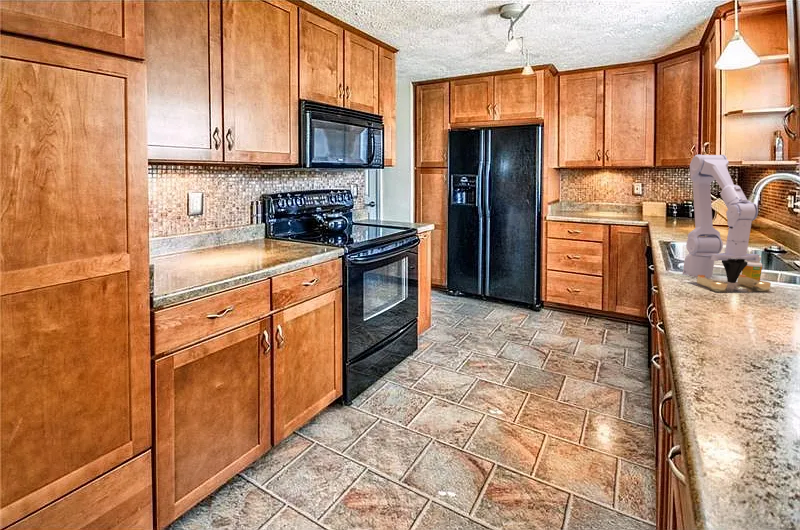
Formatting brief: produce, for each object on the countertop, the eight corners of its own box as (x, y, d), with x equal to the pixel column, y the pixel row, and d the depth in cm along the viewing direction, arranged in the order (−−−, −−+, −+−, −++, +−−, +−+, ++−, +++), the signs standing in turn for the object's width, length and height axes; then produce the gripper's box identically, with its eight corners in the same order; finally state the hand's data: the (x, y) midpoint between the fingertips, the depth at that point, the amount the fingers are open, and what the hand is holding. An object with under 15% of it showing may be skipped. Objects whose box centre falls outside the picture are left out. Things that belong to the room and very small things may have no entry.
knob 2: (773, 291, 149) (774, 282, 148) (759, 291, 149) (761, 282, 148) (745, 283, 160) (747, 274, 159) (733, 283, 160) (734, 274, 159)
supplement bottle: (751, 285, 164) (755, 257, 162) (736, 281, 169) (740, 254, 167) (763, 284, 166) (767, 256, 164) (748, 281, 171) (752, 254, 169)
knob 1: (729, 291, 148) (731, 282, 148) (716, 292, 148) (717, 282, 147) (705, 283, 159) (706, 274, 158) (692, 283, 159) (693, 274, 158)
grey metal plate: (686, 286, 162) (687, 278, 161) (740, 286, 163) (741, 278, 162) (715, 297, 148) (716, 289, 147) (773, 297, 149) (775, 288, 148)
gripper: (724, 242, 149) (718, 285, 151) (769, 242, 150) (762, 285, 152) (709, 239, 156) (703, 280, 158) (752, 239, 156) (745, 280, 159)
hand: (731, 282), depth 156 cm, fingers closed
